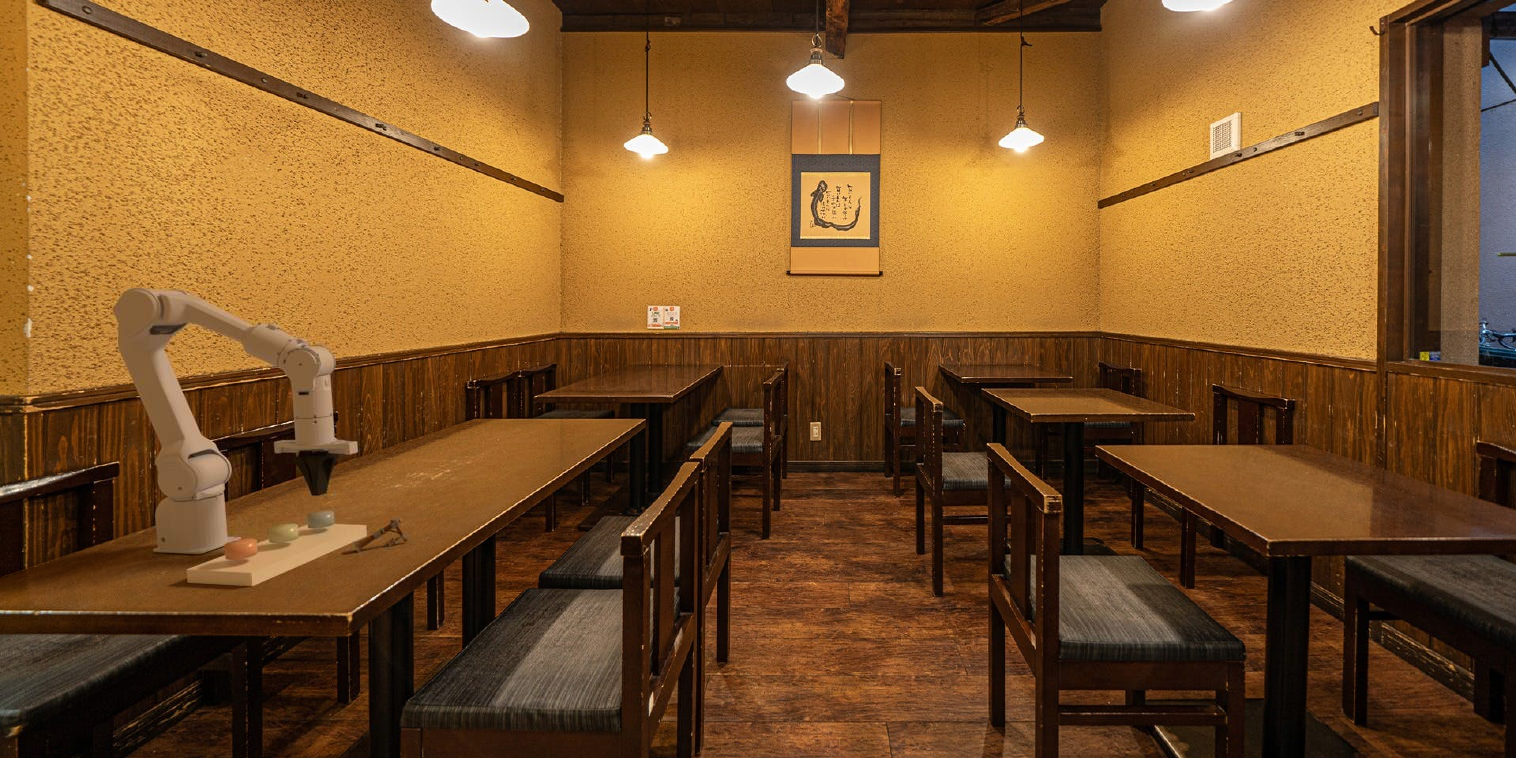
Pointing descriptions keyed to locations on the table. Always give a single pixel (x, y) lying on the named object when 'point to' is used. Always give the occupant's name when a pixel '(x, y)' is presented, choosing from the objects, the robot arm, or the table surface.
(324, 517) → the slate button
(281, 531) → the sage button
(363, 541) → the wooden post with brackets
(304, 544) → the button panel
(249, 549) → the orange rounded dome
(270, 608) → the table surface
